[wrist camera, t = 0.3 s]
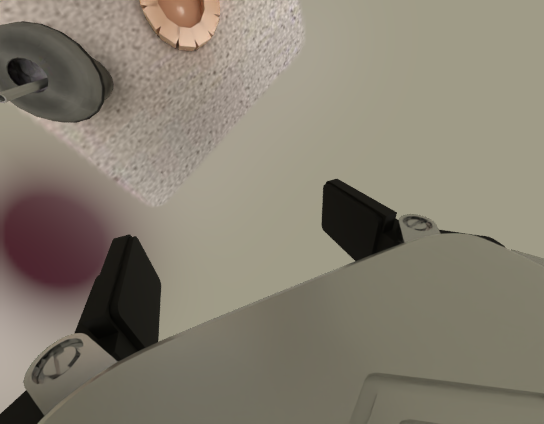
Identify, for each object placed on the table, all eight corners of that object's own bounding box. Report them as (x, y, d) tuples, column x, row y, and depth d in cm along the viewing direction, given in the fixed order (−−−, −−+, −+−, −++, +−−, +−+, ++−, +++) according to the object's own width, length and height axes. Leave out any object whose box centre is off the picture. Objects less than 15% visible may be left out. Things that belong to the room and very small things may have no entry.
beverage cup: (110, 42, 27) (20, -20, 11) (134, 107, 31) (95, 132, 15) (38, 44, 25) (-205, -27, 9) (74, 114, 29) (-49, 152, 13)
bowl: (130, -49, 24) (124, -69, 21) (210, -33, 27) (215, -49, 24) (151, 47, 28) (148, 43, 25) (217, 52, 31) (222, 49, 28)
